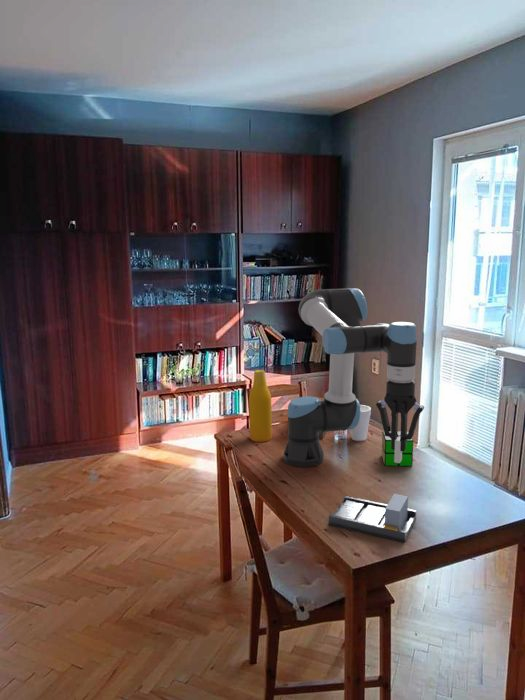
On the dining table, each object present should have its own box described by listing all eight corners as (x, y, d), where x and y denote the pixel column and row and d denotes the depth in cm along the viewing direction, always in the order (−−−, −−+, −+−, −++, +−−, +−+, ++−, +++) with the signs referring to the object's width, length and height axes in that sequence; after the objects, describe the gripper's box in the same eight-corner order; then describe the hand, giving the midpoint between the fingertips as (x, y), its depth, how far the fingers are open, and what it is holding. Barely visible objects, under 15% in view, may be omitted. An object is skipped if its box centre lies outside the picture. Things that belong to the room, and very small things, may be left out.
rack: (328, 525, 161) (328, 514, 161) (344, 504, 173) (344, 494, 173) (404, 542, 151) (404, 531, 150) (415, 519, 163) (416, 508, 163)
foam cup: (356, 443, 224) (356, 413, 221) (342, 436, 232) (343, 407, 229) (375, 439, 228) (375, 409, 226) (361, 432, 236) (361, 403, 234)
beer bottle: (254, 443, 226) (253, 374, 221) (246, 436, 235) (244, 369, 229) (275, 440, 230) (274, 372, 224) (266, 433, 238) (265, 367, 232)
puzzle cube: (408, 456, 211) (409, 431, 209) (412, 466, 201) (413, 440, 199) (381, 455, 212) (382, 430, 210) (384, 466, 202) (385, 440, 200)
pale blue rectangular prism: (384, 531, 155) (385, 508, 154) (393, 515, 164) (394, 493, 163) (398, 534, 153) (399, 511, 152) (407, 518, 162) (408, 496, 161)
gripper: (373, 380, 150) (371, 462, 155) (422, 385, 144) (418, 470, 149) (380, 374, 157) (379, 452, 162) (428, 378, 151) (424, 460, 156)
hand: (398, 461), depth 155 cm, fingers closed
